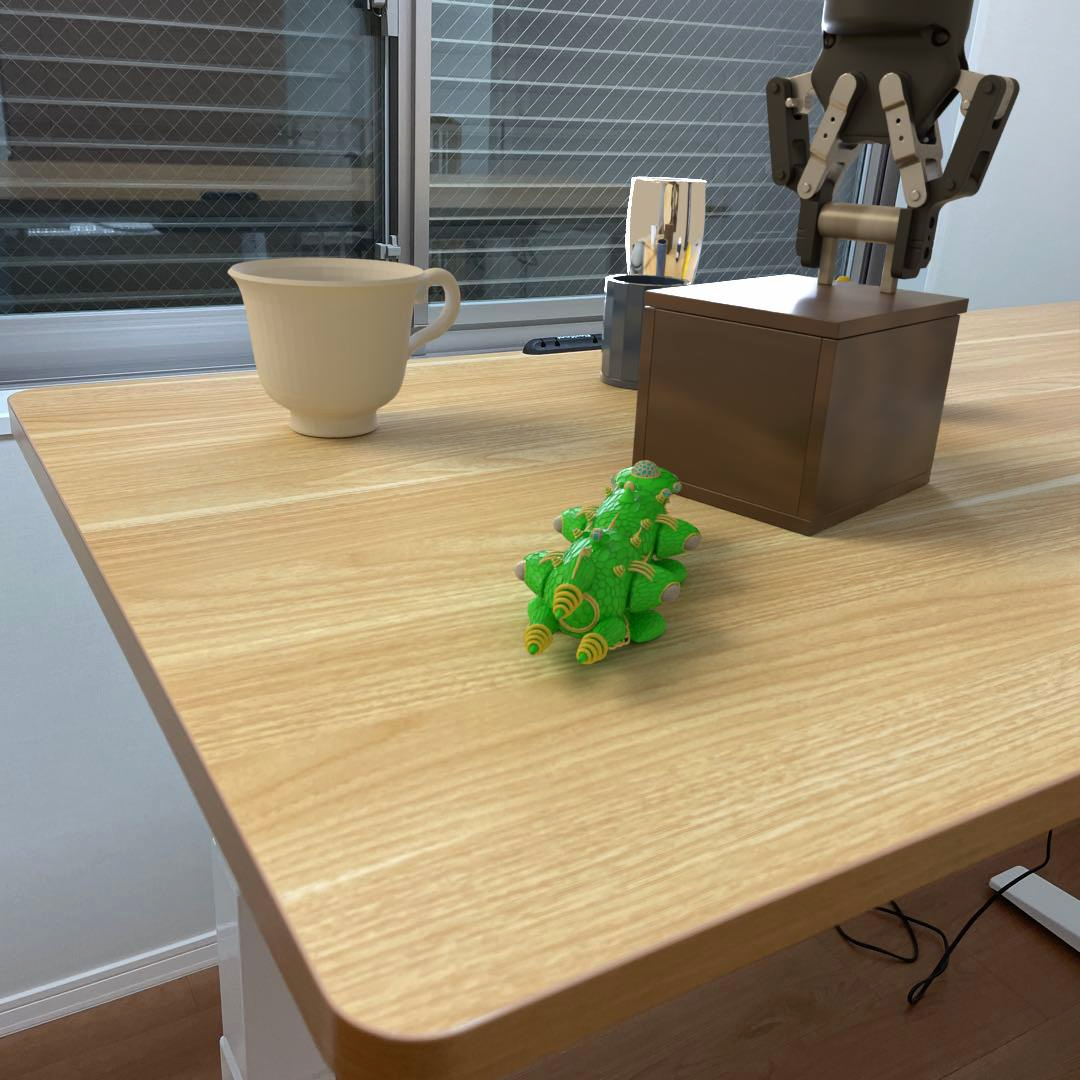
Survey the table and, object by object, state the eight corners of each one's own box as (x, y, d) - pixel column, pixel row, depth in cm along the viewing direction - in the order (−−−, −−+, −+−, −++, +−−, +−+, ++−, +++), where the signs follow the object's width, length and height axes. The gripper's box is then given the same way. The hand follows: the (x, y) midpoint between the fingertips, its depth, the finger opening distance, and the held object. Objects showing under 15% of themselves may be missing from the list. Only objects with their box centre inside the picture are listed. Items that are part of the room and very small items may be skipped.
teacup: (498, 435, 67) (502, 277, 63) (271, 462, 59) (261, 285, 56) (420, 394, 76) (420, 254, 73) (216, 413, 69) (205, 259, 65)
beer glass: (680, 341, 100) (694, 178, 95) (702, 355, 94) (719, 182, 89) (610, 341, 99) (621, 176, 94) (628, 355, 93) (641, 179, 87)
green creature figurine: (714, 535, 51) (722, 452, 49) (646, 714, 35) (656, 599, 33) (584, 518, 53) (589, 437, 51) (463, 681, 36) (464, 569, 35)
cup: (635, 368, 88) (642, 272, 85) (698, 382, 84) (707, 282, 81) (583, 378, 83) (588, 277, 80) (646, 394, 79) (655, 287, 76)
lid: (787, 287, 65) (798, 197, 63) (967, 312, 58) (986, 211, 56) (643, 305, 55) (651, 200, 53) (837, 339, 48) (854, 218, 46)
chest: (761, 439, 68) (780, 288, 65) (929, 482, 61) (960, 314, 57) (630, 479, 59) (643, 306, 55) (808, 536, 52) (837, 340, 48)
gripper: (1078, -67, 51) (1008, 283, 57) (821, -44, 60) (784, 256, 66) (1020, -95, 46) (950, 293, 52) (749, -64, 55) (716, 262, 61)
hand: (857, 270), depth 59 cm, fingers closed on lid, 5 cm apart
